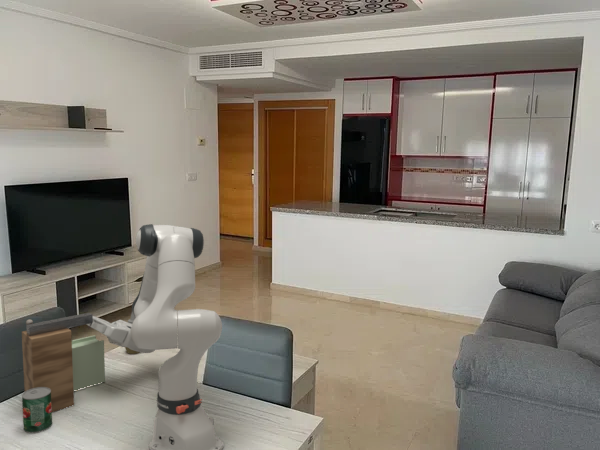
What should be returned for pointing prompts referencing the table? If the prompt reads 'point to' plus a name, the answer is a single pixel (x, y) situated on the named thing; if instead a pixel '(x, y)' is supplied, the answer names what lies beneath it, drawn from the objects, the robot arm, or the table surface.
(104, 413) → the table surface
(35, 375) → the tower
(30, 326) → the strut
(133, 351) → the squeeze bottle
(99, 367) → the pale green block
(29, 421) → the canned tomato
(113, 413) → the table surface
